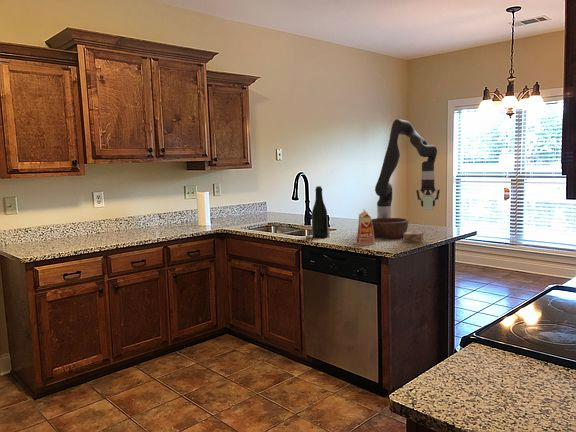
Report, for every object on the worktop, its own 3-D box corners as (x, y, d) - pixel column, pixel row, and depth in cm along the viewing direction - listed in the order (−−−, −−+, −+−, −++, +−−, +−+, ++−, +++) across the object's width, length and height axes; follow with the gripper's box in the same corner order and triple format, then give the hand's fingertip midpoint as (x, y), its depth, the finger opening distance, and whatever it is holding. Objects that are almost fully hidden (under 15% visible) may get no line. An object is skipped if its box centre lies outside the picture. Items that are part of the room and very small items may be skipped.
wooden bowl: (409, 239, 292) (409, 222, 291) (368, 239, 297) (367, 223, 295) (407, 232, 316) (407, 217, 315) (368, 233, 321) (368, 217, 320)
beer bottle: (315, 235, 319) (313, 185, 316) (330, 235, 316) (328, 185, 312) (310, 238, 310) (308, 186, 306) (325, 238, 306) (324, 186, 302)
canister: (422, 209, 288) (422, 195, 287) (422, 208, 294) (422, 194, 293) (433, 209, 287) (433, 195, 286) (432, 208, 292) (432, 194, 291)
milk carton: (356, 242, 287) (355, 209, 285) (371, 241, 288) (370, 208, 285) (359, 245, 278) (358, 211, 276) (375, 244, 279) (374, 210, 276)
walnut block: (403, 242, 283) (403, 234, 283) (406, 239, 292) (406, 231, 292) (420, 243, 279) (420, 234, 279) (423, 240, 288) (423, 231, 288)
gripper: (415, 179, 286) (415, 207, 288) (440, 178, 282) (440, 207, 285) (415, 178, 294) (415, 206, 296) (440, 178, 290) (440, 205, 292)
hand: (427, 206), depth 290 cm, fingers closed on canister, 5 cm apart
